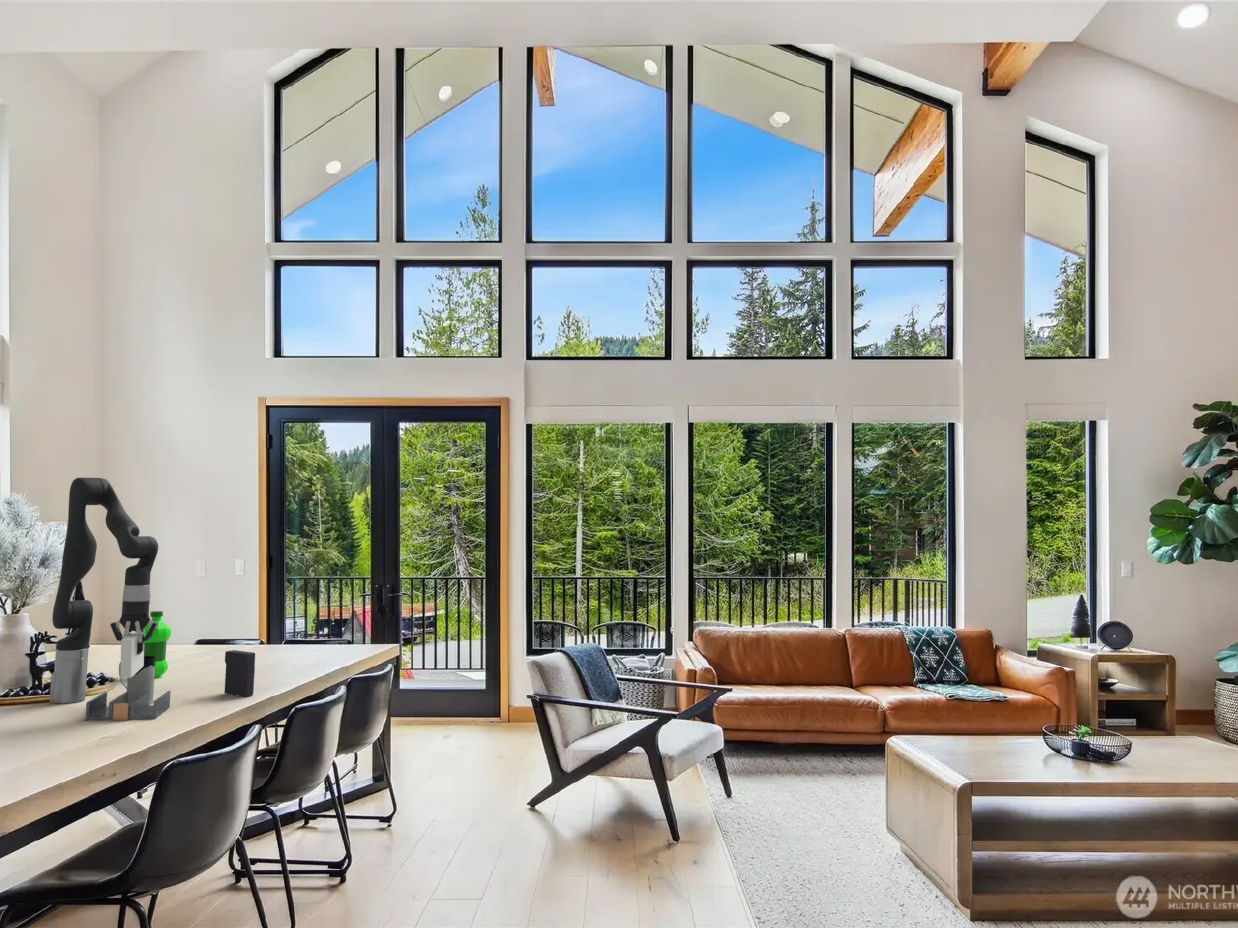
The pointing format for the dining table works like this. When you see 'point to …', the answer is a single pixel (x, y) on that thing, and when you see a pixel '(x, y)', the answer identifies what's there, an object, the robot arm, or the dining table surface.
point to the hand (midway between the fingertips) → (132, 653)
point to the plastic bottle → (157, 643)
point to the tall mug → (141, 680)
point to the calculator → (239, 673)
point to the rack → (126, 707)
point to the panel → (130, 656)
